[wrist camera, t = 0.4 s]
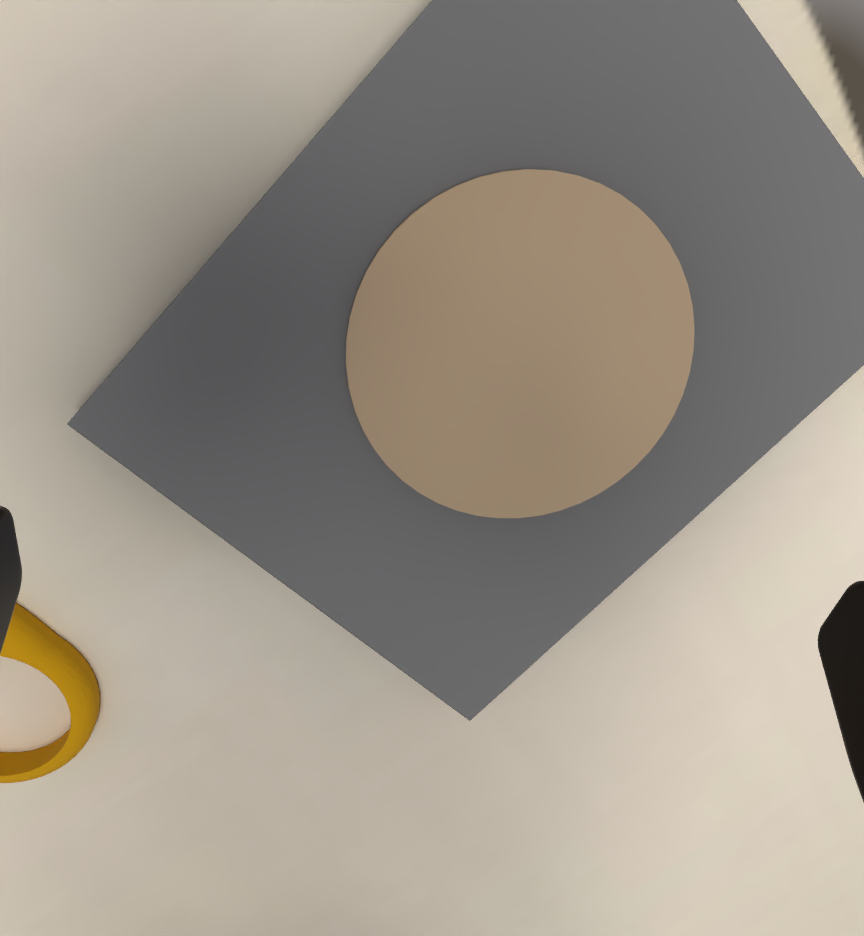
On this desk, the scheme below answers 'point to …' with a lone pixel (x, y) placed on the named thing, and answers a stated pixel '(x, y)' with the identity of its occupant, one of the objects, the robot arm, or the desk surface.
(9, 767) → the yellow joined rings
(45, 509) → the desk surface
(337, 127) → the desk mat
